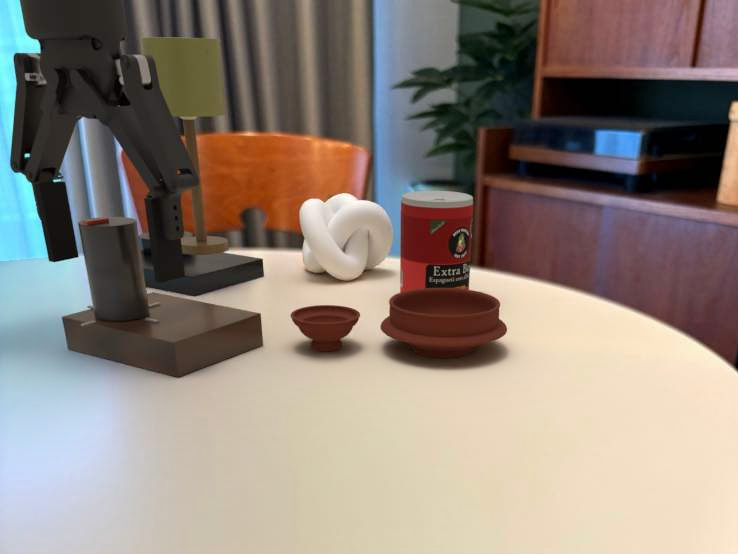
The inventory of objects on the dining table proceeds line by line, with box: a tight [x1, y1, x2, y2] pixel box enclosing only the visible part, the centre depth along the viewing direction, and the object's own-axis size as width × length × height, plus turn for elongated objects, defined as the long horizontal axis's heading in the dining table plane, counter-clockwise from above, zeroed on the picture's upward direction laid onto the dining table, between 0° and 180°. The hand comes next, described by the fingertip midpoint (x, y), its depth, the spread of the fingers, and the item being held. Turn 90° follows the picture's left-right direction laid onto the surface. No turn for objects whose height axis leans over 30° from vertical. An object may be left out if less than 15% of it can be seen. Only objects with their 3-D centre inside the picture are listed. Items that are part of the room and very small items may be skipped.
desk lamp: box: [139, 36, 230, 255], centre depth 91 cm, size 8×8×21 cm
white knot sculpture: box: [298, 192, 394, 282], centre depth 101 cm, size 11×12×9 cm
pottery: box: [290, 288, 508, 359], centre depth 77 cm, size 12×20×4 cm, turn 90°
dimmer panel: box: [61, 291, 264, 378], centre depth 76 cm, size 14×12×3 cm
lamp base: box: [138, 230, 265, 297], centre depth 100 cm, size 16×12×4 cm
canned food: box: [399, 190, 474, 293], centre depth 90 cm, size 8×8×11 cm
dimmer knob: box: [77, 216, 150, 321], centre depth 73 cm, size 5×5×8 cm
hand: (115, 269), depth 73 cm, fingers open, 13 cm apart
